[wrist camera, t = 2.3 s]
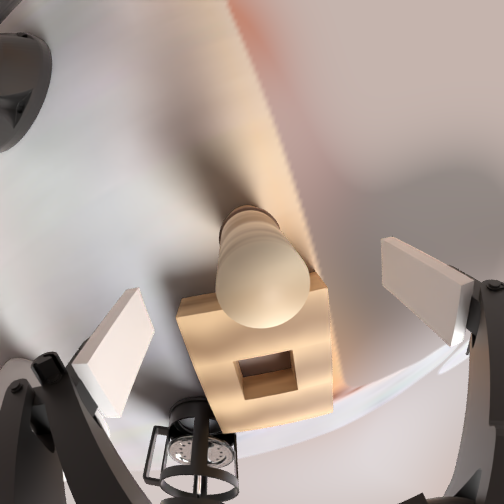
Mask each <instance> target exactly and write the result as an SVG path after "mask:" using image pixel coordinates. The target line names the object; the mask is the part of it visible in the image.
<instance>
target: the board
mask: <svg viewBox="0 0 504 504" xmlns="http://www.w3.org/2000/svg"><path fill="white" fill-rule="evenodd" d="M309 276H310V290H309V294H308V297H307V300H306V302H305V304H304V305H303V307H302V308H301V310H300V311H299V312H298V313H297V314H296V315H295V316H294V317H292V318H291V319H290V320H288V321H286V322H284V323H283V324H280V325H278V326H274V327H270V328H251V327H247V326H244V325H241V324H239V323H237V322H235V321H234V320H232V319H231V318H230V317H229V316H228V315H227V314H226V313H225V312H224V311H223V309H222V308H221V306H220V304H219V302H218V299H217V296H216V292H214V293H208V294H203V295H198V296H192V297H187V298H182V299H181V303H180V306H179V309H178V312H177V315H176V320H177V323H178V326H179V329H180V332H181V334H182V337H183V340H184V343H185V345H186V348H187V350H188V353H189V356H190V358H191V361H192V363H193V366H194V368H195V371H196V373H197V376H198V378H199V381H200V383H201V386H202V388H203V390H204V393H205V395H206V397H207V400H208V402H209V404H210V406H211V409H212V411H213V413H214V415H215V418H216V420H217V422H218V424H219V426H220V428H221V430H222V433H223V434H226V433H235V432H242V431H249V430H255V429H261V428H267V427H273V426H278V425H283V424H288V423H292V422H297V421H301V420H306V419H310V418H314V417H318V416H321V415H325V414H329V413H332V412H333V373H332V345H331V326H330V310H329V297H328V287H327V286H326V285H325V283H324V282H323V281H322V279H321V278H320V277H319V275H318V274H317V273H316V272H312V273H309ZM284 351H289V354H290V360H291V367H292V368H289V369H284V370H279V371H275V372H270V373H265V374H259V375H254V376H248V377H243V376H242V372H241V369H240V365H239V362H238V360H244V359H250V358H255V357H260V356H265V355H270V354H275V353H280V352H284Z"/></svg>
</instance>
